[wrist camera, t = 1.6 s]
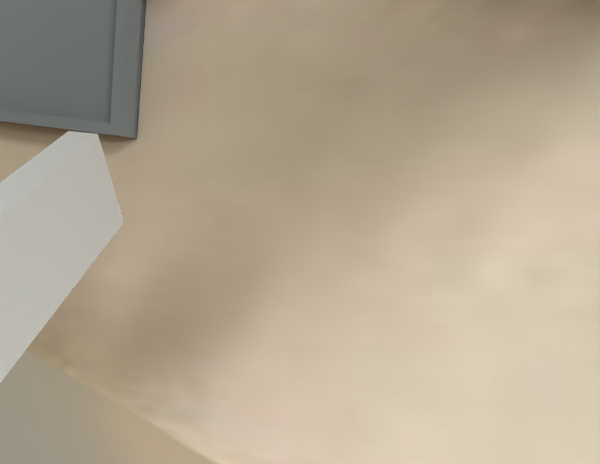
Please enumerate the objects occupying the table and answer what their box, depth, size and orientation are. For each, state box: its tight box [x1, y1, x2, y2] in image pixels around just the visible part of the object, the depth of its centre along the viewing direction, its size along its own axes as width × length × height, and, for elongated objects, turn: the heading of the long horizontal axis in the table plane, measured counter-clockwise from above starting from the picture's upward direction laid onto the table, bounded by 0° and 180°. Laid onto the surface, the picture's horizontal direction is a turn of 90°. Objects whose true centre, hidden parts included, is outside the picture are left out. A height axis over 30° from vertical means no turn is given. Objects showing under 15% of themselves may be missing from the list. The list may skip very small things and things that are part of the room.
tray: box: [0, 0, 146, 139], centre depth 38 cm, size 20×20×3 cm
